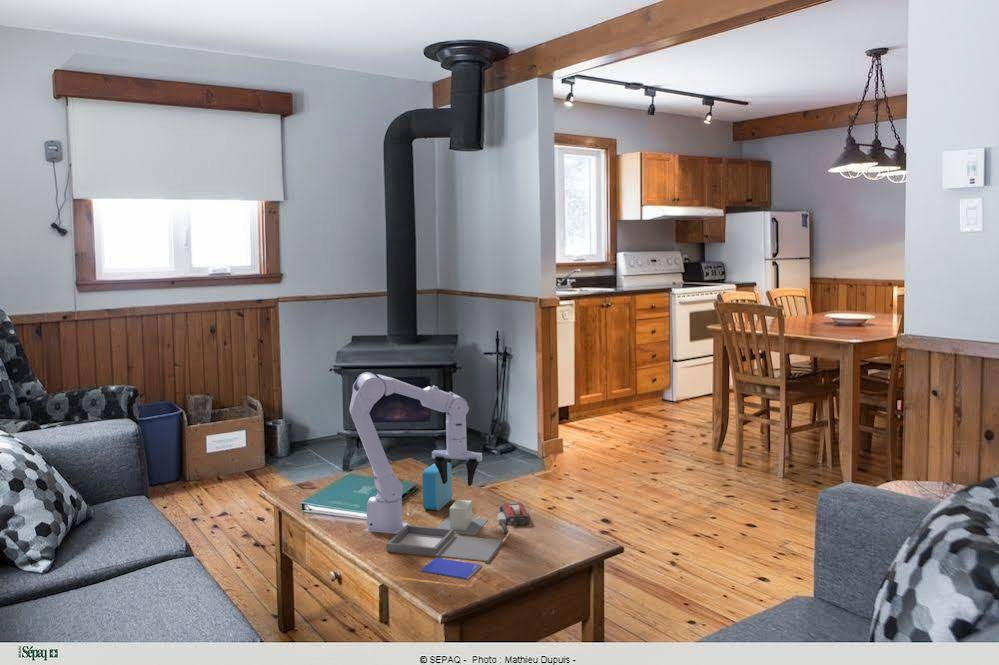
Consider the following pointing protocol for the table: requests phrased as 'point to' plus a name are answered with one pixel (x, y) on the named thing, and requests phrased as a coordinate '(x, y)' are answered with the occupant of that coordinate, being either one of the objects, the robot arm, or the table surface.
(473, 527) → the slate mat
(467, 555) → the equipment case
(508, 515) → the walkie-talkie
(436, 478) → the blue block
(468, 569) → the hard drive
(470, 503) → the block
